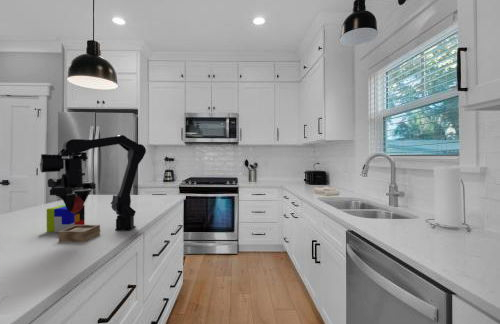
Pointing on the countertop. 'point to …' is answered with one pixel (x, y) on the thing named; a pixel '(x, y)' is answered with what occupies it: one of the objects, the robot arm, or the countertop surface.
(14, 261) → the countertop surface
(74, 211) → the onion
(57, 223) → the puzzle toy
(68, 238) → the wooden tray
